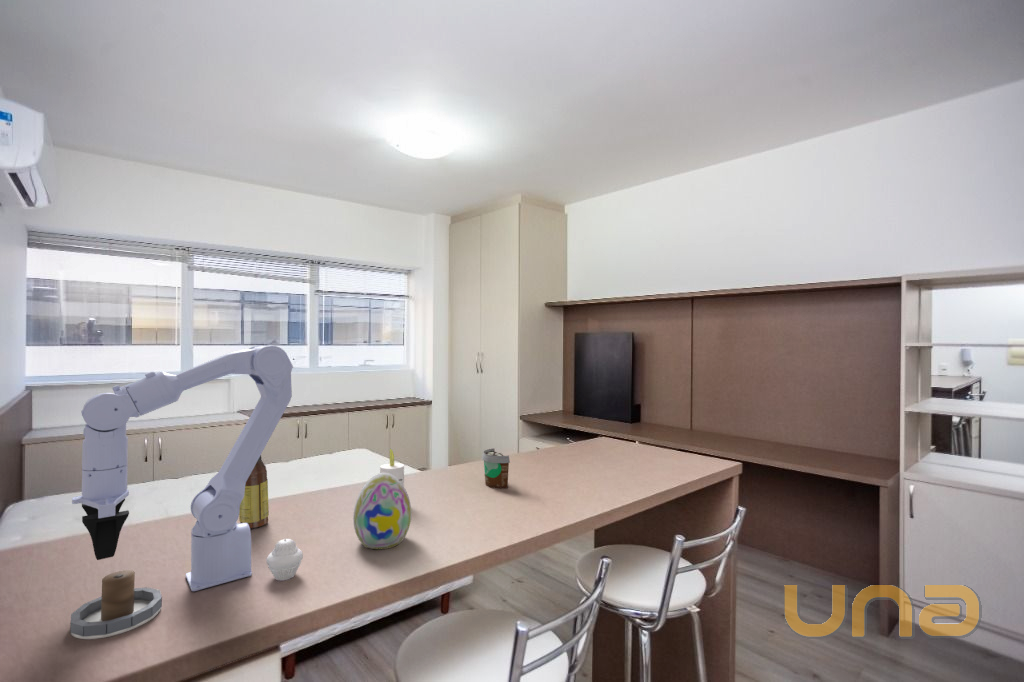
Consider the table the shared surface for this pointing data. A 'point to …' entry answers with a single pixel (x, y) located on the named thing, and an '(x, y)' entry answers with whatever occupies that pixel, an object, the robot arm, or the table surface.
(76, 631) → the ring dish
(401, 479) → the candle
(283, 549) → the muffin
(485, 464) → the food container
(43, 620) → the table surface
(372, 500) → the decorative egg
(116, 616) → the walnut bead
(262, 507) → the sauce bottle
